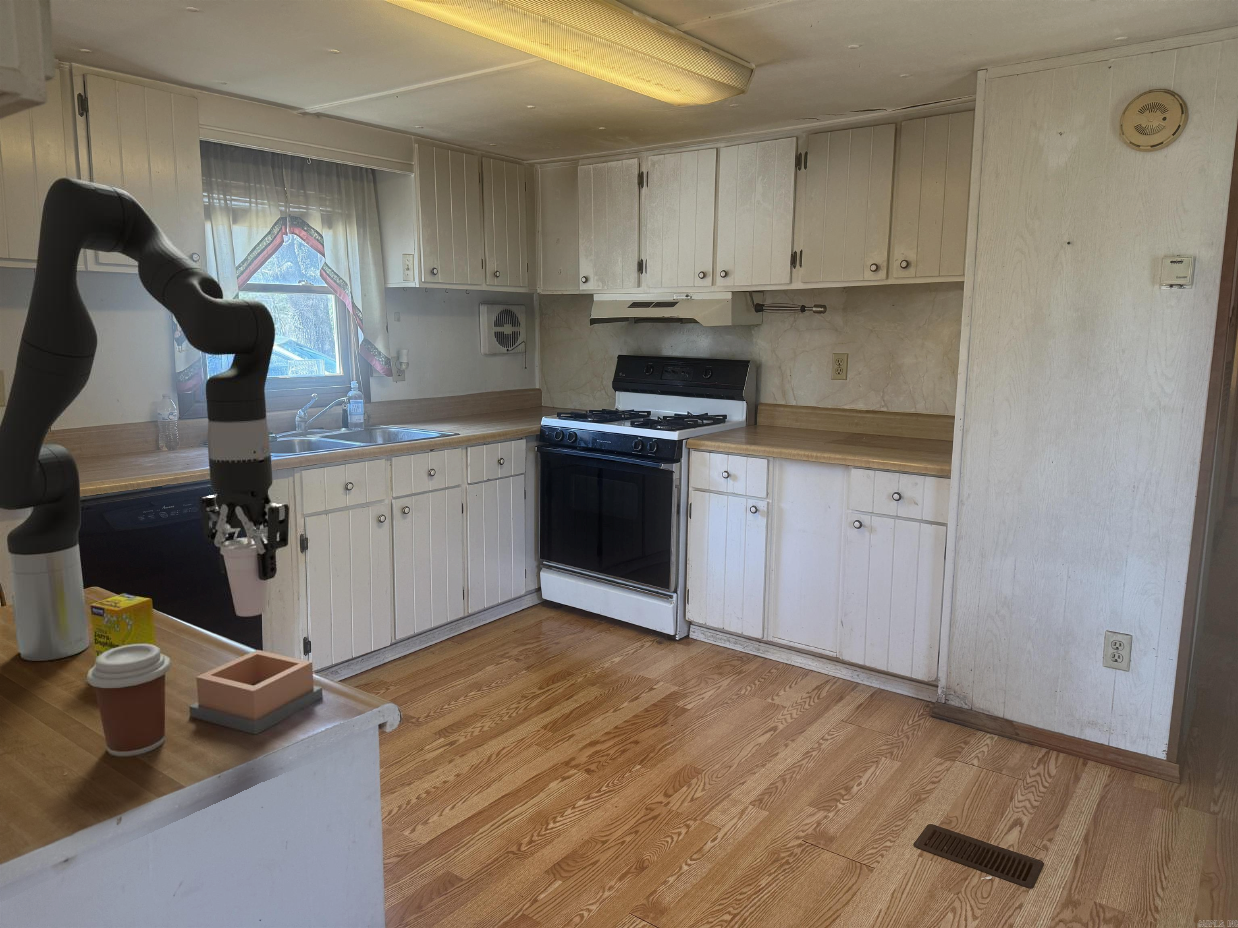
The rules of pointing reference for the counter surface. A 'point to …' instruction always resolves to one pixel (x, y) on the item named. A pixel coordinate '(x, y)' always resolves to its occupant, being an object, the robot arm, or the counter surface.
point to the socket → (255, 691)
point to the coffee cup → (131, 697)
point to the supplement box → (122, 622)
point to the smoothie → (244, 576)
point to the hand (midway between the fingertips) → (248, 574)
